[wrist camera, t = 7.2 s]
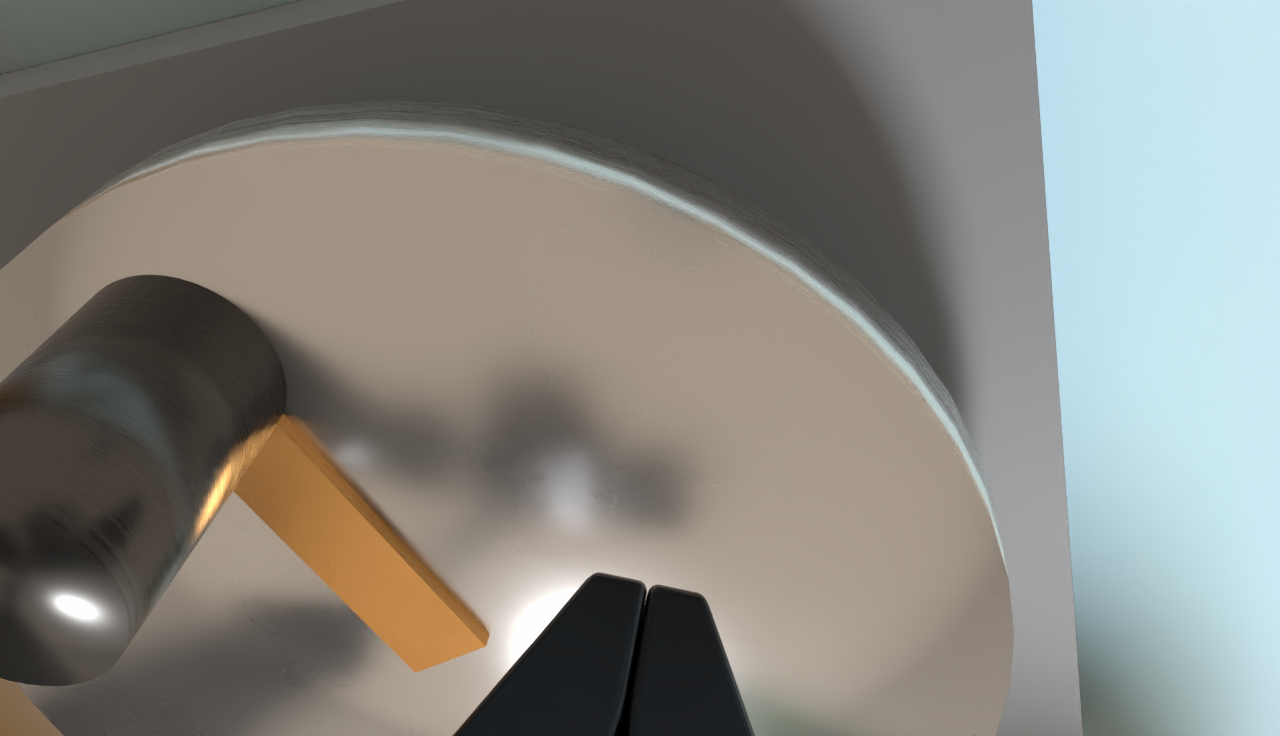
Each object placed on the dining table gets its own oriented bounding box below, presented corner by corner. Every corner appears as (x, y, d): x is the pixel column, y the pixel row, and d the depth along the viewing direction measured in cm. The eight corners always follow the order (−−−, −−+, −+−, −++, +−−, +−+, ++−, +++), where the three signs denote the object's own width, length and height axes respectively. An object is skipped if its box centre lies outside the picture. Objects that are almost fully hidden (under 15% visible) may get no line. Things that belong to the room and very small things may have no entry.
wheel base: (283, 768, 24) (227, 886, 22) (-146, 110, 16) (-300, 189, 14) (1071, 728, 20) (1102, 868, 18) (1002, -173, 12) (1040, -124, 10)
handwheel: (1087, 97, 11) (1235, 371, 7) (945, 915, 18) (976, 1260, 15) (-200, 101, 13) (-650, 314, 9) (160, 837, 20) (4, 1122, 17)
